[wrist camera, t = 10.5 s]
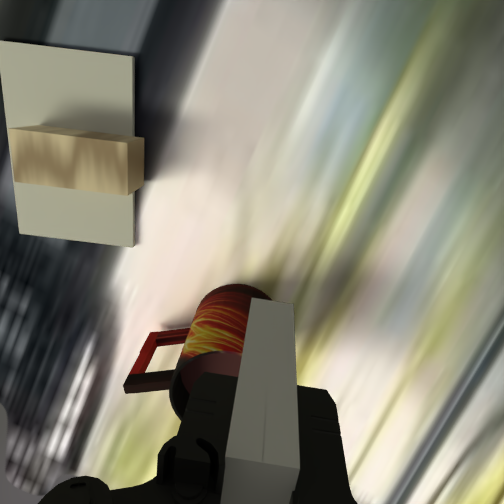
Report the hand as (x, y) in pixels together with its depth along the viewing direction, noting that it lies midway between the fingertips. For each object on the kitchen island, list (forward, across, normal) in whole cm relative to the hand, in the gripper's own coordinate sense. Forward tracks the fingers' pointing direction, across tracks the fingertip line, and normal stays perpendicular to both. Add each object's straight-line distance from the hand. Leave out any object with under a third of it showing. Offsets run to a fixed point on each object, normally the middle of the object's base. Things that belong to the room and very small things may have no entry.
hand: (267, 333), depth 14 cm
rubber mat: (+25, -20, 0) cm, 32 cm away
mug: (+26, -4, -18) cm, 31 cm away
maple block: (+23, -13, 0) cm, 26 cm away
